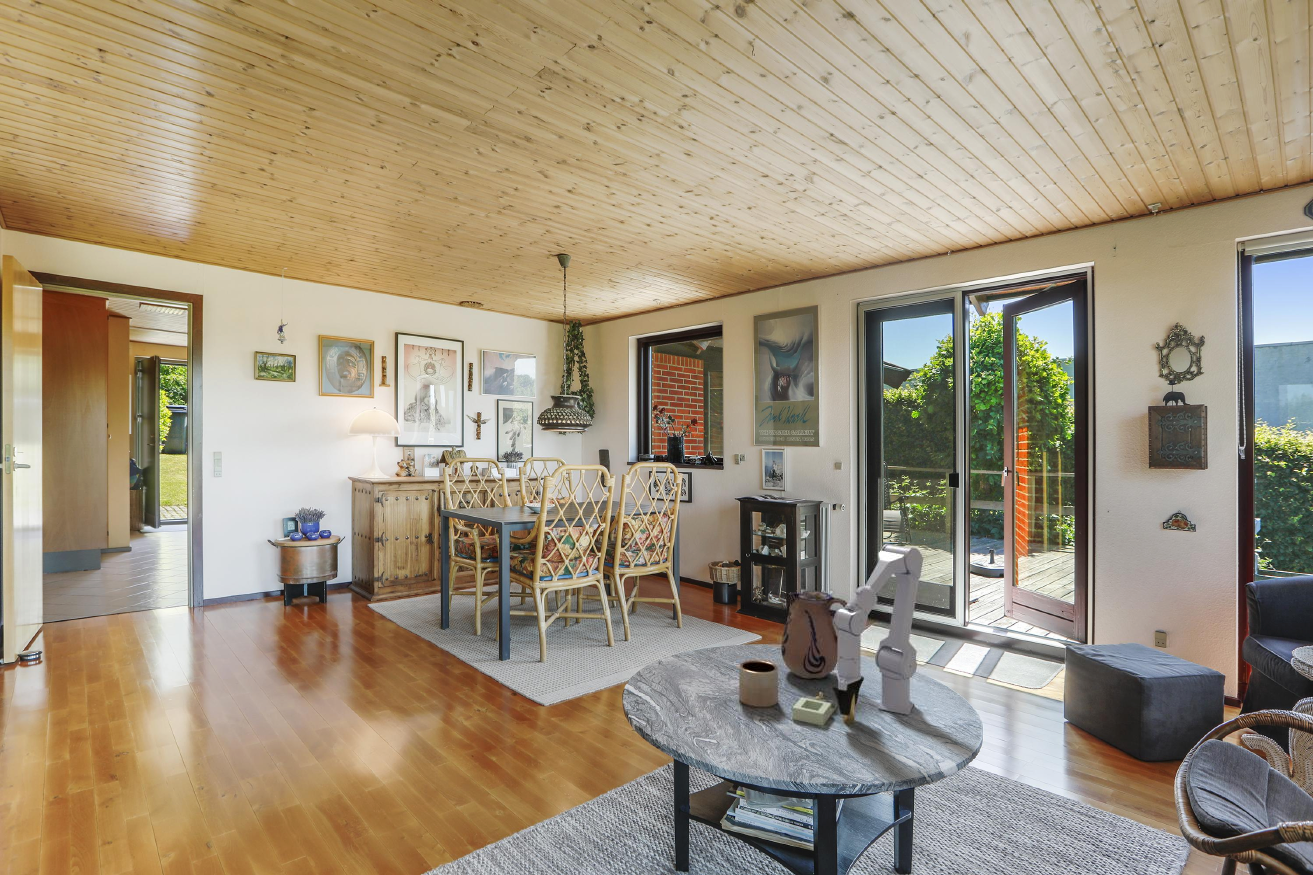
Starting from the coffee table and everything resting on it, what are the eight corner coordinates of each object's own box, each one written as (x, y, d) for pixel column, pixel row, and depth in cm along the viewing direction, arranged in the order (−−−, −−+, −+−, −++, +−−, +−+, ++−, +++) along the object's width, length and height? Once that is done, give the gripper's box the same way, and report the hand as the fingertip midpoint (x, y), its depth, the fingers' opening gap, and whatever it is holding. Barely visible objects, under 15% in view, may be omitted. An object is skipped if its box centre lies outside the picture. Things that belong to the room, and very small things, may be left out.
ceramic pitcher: (784, 662, 211) (785, 586, 212) (851, 669, 205) (851, 591, 205) (777, 680, 195) (778, 597, 195) (849, 688, 188) (850, 603, 189)
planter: (731, 697, 181) (731, 663, 181) (762, 691, 186) (762, 657, 186) (754, 711, 171) (754, 675, 171) (786, 704, 176) (786, 669, 176)
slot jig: (807, 700, 179) (807, 688, 179) (838, 707, 174) (838, 694, 175) (792, 718, 166) (792, 705, 166) (824, 726, 162) (824, 712, 162)
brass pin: (844, 718, 167) (844, 691, 167) (855, 720, 166) (855, 693, 166) (841, 722, 165) (841, 695, 165) (853, 724, 163) (853, 697, 163)
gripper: (840, 646, 174) (839, 697, 174) (826, 661, 161) (825, 715, 161) (866, 651, 170) (866, 702, 170) (854, 666, 158) (854, 721, 157)
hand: (848, 709), depth 165 cm, fingers open, 7 cm apart
